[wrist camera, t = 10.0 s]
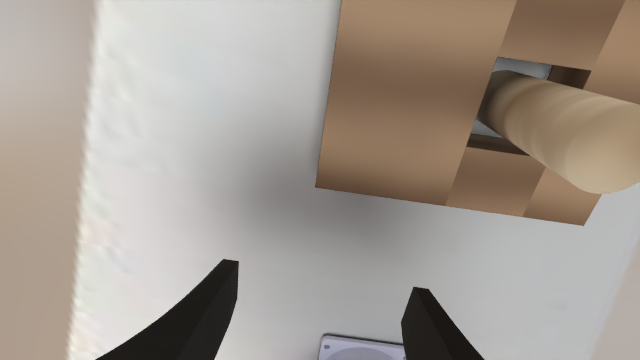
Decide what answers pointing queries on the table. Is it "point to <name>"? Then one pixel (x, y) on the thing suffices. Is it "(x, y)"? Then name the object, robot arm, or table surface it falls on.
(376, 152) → the walnut socket board
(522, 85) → the beech peg
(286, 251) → the table surface
